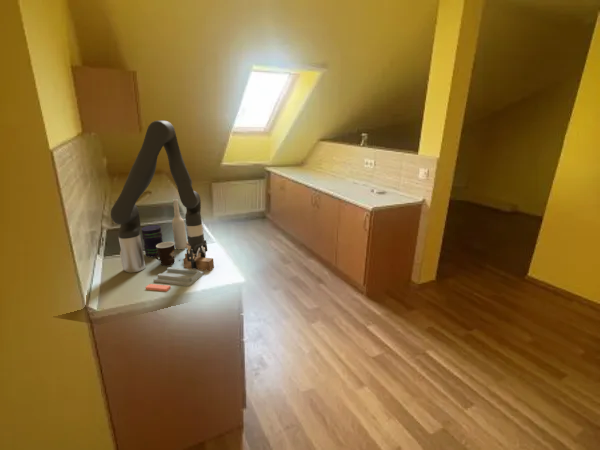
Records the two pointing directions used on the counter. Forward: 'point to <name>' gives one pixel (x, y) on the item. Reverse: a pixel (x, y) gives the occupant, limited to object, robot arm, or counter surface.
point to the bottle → (178, 228)
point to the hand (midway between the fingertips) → (199, 264)
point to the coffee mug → (166, 253)
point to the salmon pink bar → (158, 287)
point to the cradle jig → (179, 276)
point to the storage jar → (151, 239)
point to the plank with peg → (200, 263)
